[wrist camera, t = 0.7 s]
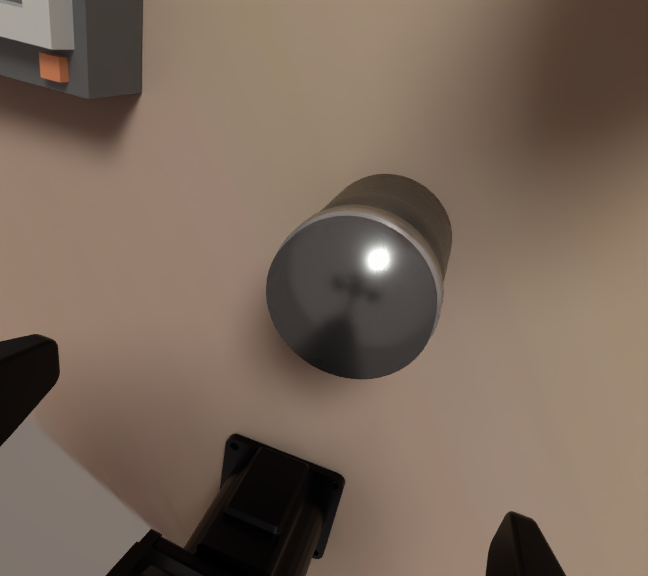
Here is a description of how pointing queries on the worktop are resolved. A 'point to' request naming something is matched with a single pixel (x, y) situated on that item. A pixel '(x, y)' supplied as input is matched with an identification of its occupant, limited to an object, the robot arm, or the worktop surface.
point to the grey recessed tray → (73, 45)
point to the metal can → (363, 278)
